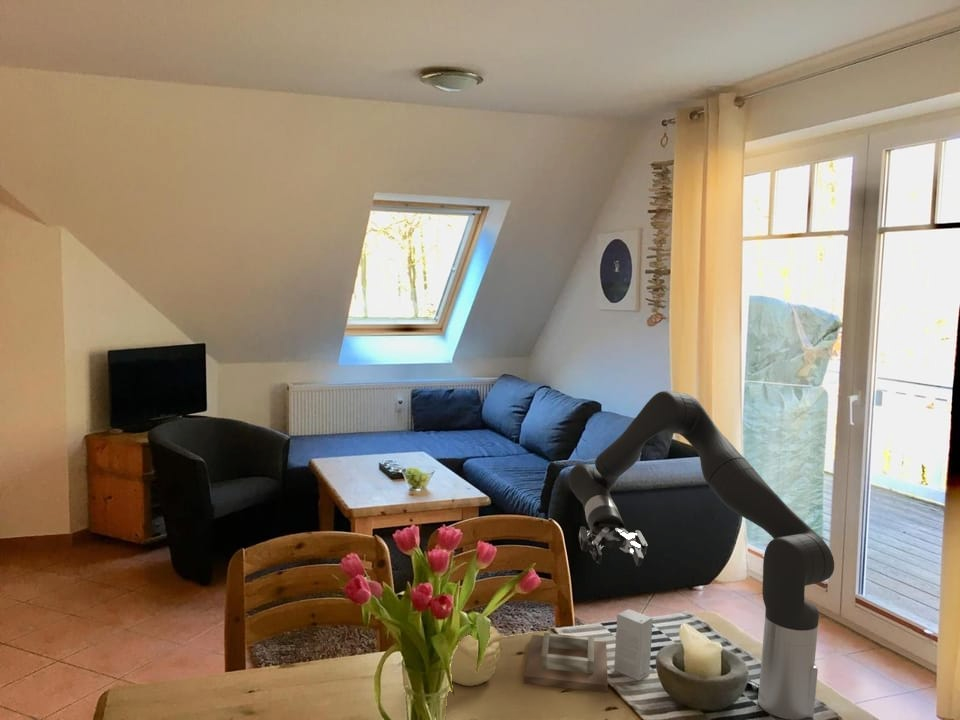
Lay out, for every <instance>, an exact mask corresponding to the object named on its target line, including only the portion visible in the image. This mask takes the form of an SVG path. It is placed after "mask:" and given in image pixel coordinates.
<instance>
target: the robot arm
mask: <svg viewBox="0 0 960 720" xmlns="http://www.w3.org/2000/svg"><path fill="white" fill-rule="evenodd" d="M661 433H668V434H679V435H680V436H682V437H683V438H684V439H685V440H686V441H687V442H688V443H689V444H690V445H691V446H692V448H693V449H694V450H695V451H696V453H697V454H698V456H699V459H700V460H699V461H700V468H701V472H702V476H703V478H704V480H705V482H706V484H707V485H708V486H709V488H710V490H712V491H713V492H714V493H713V494H715V495H716V496H717V498H718V499H719V500H720V501H721V503H723V504H724V506H726V507H727V508H728V509H730V510H731V511H733V512H735V513H736V514H737V515H740V516H741V517H742V518H744V519H746V520H748V521H749V522H751V523H753V524H755V525H757V526H758V527H759V528H761V529H762V530H764V532H765V533H767V534H768V535H769V536H771V537H772V538H773V539H772V540H770V541H769V542H768V544H767V546H766V548H765V550H764V554H763V561H762V562H763V563H762V591H761V592H762V600H763V604H764V607H765V610H764V611H765V614H764V625H763V626H764V627H763V636H762V646H761V647H762V648H761V649H762V650H761V658H760V659H761V662H760V672H759V685H758V696H757V698H758V699H757V701H758V704H759V707H760V708H761V709H763V710H764V711H765V712H766V713H769V714H770V715H772V716H774V717H777V718H781V719H786V720H804V719H806V718H810V719H811V718H812V719H813V718H814V716H815V714H814V713H815V706H816V705H815V703H816V693H817V684H818V683H817V682H818V673H819V672H818V666H817V665H816V663H815V662H816V652H817V651H816V650H817V643H818V642H817V641H818V640H817V639H818V631H819V630H818V629H819V620H820V619H819V617H820V612H819V610H818V608H817V607H816V605H814V604H813V603H811V602H809V601H808V600H806V599H805V589H806V588H805V587H807V586H811V585H815V584H820V583H822V582H824V581H827V580H829V579H830V578H831V577H832V576H833V574H834V572H835V571H834V570H835V560H834V556H833V554H832V551H831V549H830V548H829V545H828V544H827V543H826V542H825V540H824V539H823V538H822V537H821V536H820V535H819V534H818V533H817V532H816V531H815V530H814V529H813V528H812V527H810V526H809V525H808V524H807V523H806V522H805V521H804V520H803V519H802V518H800V517H799V516H798V515H797V514H796V513H795V512H794V511H793V510H792V509H790V507H789V506H788V505H787V504H786V503H785V502H784V501H783V500H782V498H780V497H779V496H778V494H776V492H775V491H774V490H773V489H772V488H771V486H769V485H768V484H767V482H766V481H765V480H764V479H763V478H762V477H761V476H760V474H759V473H758V472H757V470H756V469H755V468H754V467H753V466H752V465H751V463H750V462H749V461H748V460H747V459H746V458H745V457H744V456H743V455H742V454H741V453H740V451H739V450H737V449H736V448H735V446H734V445H733V444H732V443H731V442H730V441H729V439H728V438H727V437H726V436H725V435H724V434H723V433H722V431H720V429H719V427H717V425H716V424H715V423H714V421H713V420H712V418H711V417H710V415H709V414H708V413H707V411H706V409H705V408H704V407H703V405H702V404H701V403H700V401H699V400H698V399H697V398H696V397H694V396H693V395H691V394H688V393H685V392H677V391H668V390H662V391H658V392H657V393H656V394H654V395H653V396H652V397H651V398H650V399H649V400H648V401H647V402H646V403H645V405H644V406H643V407H642V409H641V410H640V411H639V413H638V414H637V415H636V416H635V418H634V419H633V420H632V421H631V422H630V424H629V425H628V426H627V428H625V430H624V431H623V432H622V433H621V435H620V436H619V437H617V439H616V440H615V441H613V442H612V443H611V444H610V445H609V446H607V448H605V449H604V450H603V451H602V452H601V453H599V454H598V455H597V457H596V458H595V461H594V466H595V467H592V466H591V465H588V464H586V463H577V464H575V466H573V467H572V468H571V469H570V471H569V474H568V485H569V488H570V491H572V493H573V495H574V496H575V497H576V498H577V500H578V501H579V502H580V503H581V504H582V507H583V510H584V512H585V513H584V514H585V520H586V523H587V524H588V525H587V526H588V527H589V529H587V528H586V527H585V526H580V527H579V528H580V529H579V533H578V540H579V544H580V549H581V551H582V552H584V553H585V552H587V551H589V552H590V554H591V556H592V558H593V560H594V561H595V562H596V564H601V563H602V559H603V553H602V549H603V547H605V548H606V549H612V548H613V549H618V550H621V551H623V552H624V553H626V554H627V553H629V554H630V555H632V559H633V561H634V563H635V565H636V566H637V567H640V566H641V565H643V561H644V556H645V555H646V554H647V549H648V546H649V545H648V542H647V540H646V539H645V537H644V536H643V534H642V531H640V530H638V529H636V530H635V532H629V531H628V530H627V529H626V527H625V525H624V521H623V519H622V516H621V514H620V512H619V510H618V507H617V506H616V503H615V502H614V500H613V498H612V496H611V493H610V492H611V491H612V490H611V489H612V488H613V486H614V485H615V483H616V481H617V480H619V477H620V476H622V475H623V474H624V473H625V472H627V471H628V470H629V469H631V468H632V467H633V466H634V465H635V464H636V462H637V461H638V460H639V458H640V456H641V455H642V454H641V453H642V450H643V448H644V446H645V444H646V443H647V442H648V441H649V440H651V439H652V438H653V437H655V436H657V435H659V434H661ZM590 537H591V540H592V542H591V541H589V538H590ZM632 547H633V548H632Z"/></svg>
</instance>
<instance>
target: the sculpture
mask: <svg viewBox="0 0 960 720" xmlns="http://www.w3.org/2000/svg"><path fill="white" fill-rule="evenodd" d="M503 642H504V639H503V636H502V634H501V633H499V631H498V630H497V629H496V627H494V626H492V625H490V640H489V643H488V646H487V649H486V652H485V655H484V658H483V660H482V663H481V665H480V668H479V671H478V673H477V674H476V673H475V671H476V662H477V654H478V646H477V641H476V640H475V639H474V638H473V637H472V636H471V635H467V636H465V637H464V638H462V640H461V641H460V643H459V644H458V647H457V649H456V651H455V653H454V655H453V658H452V663H451V674H452V680H451V681H452V682H454V683H457V684H459V685H462V686H467V687H472V686H473V687H474V685H475V686H477V685H481V684H483V683H485V682H487V681H489V680H491V678H492V677H493V676H494V674H496V668H497V664H498V662H499V660H500V659H501V658H500V657H501V652H502V650H503V646H502V645H503Z"/></svg>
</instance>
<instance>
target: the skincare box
mask: <svg viewBox="0 0 960 720" xmlns="http://www.w3.org/2000/svg"><path fill="white" fill-rule="evenodd" d="M615 630H616V631H615V645H614V646H615V648H614V650H615V651H614V664H613V665H614V666H613V670H614V671H615V672H618V673H619V674H622V675H623V676H627V677H629V678H631V679H633V680H636V681H638V682H639V681H641V680H642V679H644V678H646V677H647V676H648V674H649V675H650V672H651V671H650V669H651V653H652V652H651V651H652V638H653V637H652V636H653V634H652V633H653V617H651V616H648V615H646V614H643V613H640V612H637V611H635V610H633V609H630V608H627V609H625V610H624V611H621V612H619V613H617V614H616V629H615Z"/></svg>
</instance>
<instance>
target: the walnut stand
mask: <svg viewBox="0 0 960 720" xmlns="http://www.w3.org/2000/svg"><path fill="white" fill-rule="evenodd" d="M594 639H595V638H594V637H588V636H579V635H571V634H561V633H551V632H544V633H543V635H539V634H531V637H530V644H529V649H528V655H527V662H526V668H525V673H524V684H527V685H537V686H543V687H544V686H546V687H553V688H563V689H572V690H573V689H574V690H582V691H591V692H600V693H608V690H609V689H608V688H609V687H608V686H609V683H608V681H609V680H608V658H607V657H608V655H607V653H608V652H607V642H606V641H598V640H597V641H596V640H594Z"/></svg>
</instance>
